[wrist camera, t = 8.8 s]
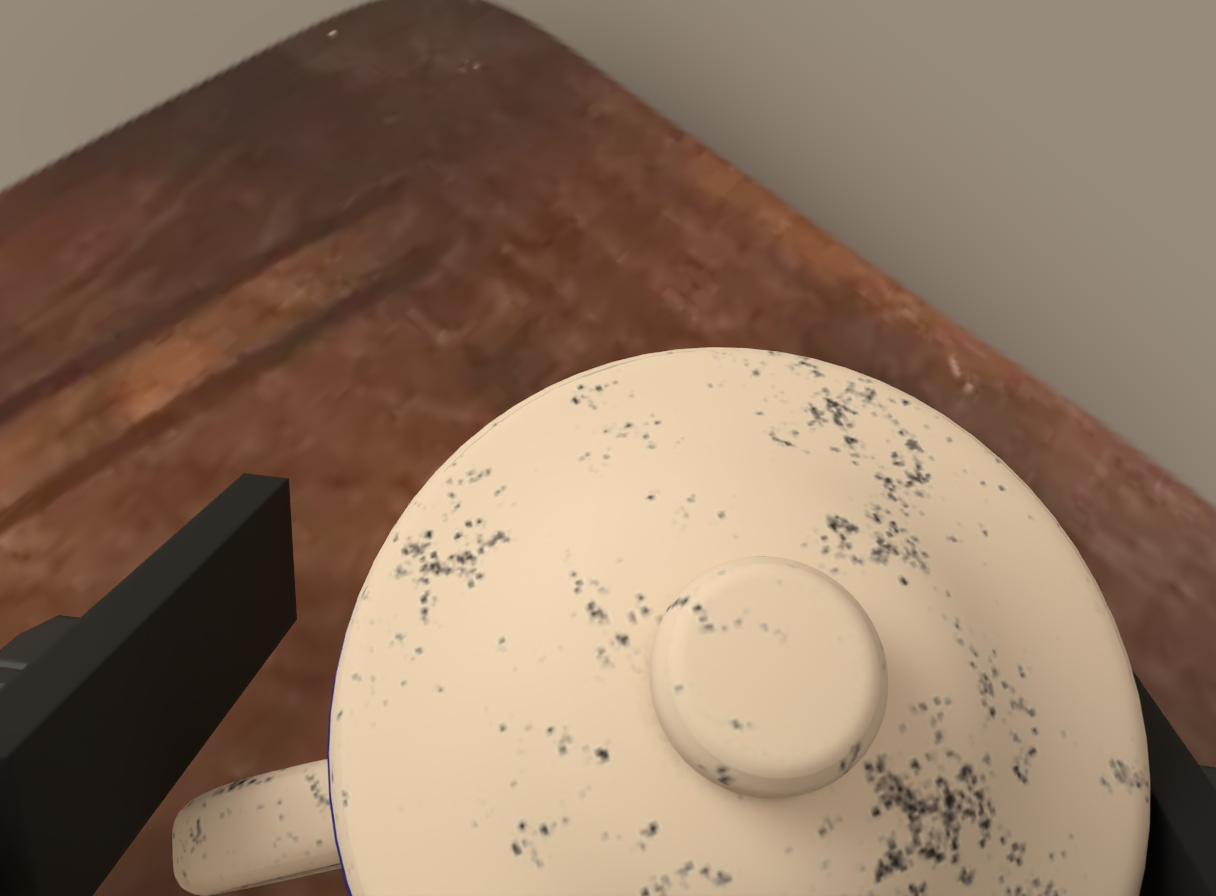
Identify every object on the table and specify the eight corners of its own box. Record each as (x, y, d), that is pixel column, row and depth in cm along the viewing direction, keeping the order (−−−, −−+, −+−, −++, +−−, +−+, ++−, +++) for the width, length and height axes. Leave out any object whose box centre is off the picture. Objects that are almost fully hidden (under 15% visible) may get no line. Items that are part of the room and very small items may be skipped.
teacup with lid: (832, 499, 20) (1078, 131, 9) (981, 956, 17) (1627, 1196, 6) (287, 614, 19) (-128, 355, 9) (329, 1120, 16) (-266, 1739, 5)
